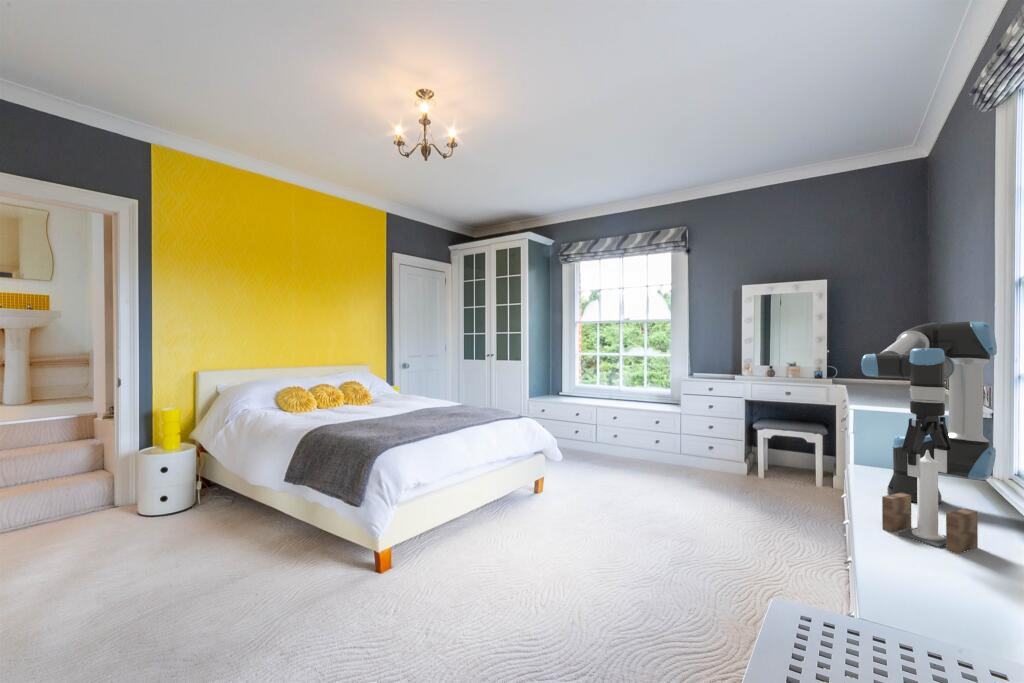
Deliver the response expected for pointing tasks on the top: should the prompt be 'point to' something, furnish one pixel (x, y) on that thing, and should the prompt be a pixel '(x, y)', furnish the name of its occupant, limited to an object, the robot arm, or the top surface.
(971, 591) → the top surface
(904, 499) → the bookend
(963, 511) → the bookend
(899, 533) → the felt pad
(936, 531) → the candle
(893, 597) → the top surface
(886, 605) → the top surface
